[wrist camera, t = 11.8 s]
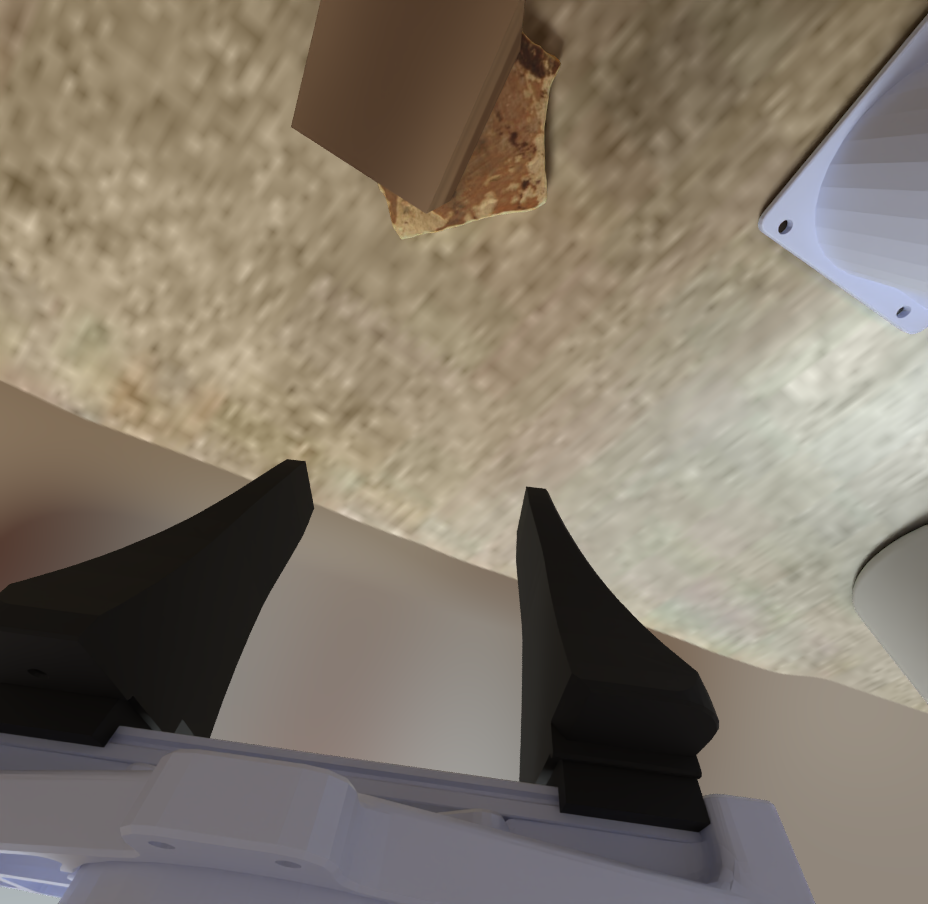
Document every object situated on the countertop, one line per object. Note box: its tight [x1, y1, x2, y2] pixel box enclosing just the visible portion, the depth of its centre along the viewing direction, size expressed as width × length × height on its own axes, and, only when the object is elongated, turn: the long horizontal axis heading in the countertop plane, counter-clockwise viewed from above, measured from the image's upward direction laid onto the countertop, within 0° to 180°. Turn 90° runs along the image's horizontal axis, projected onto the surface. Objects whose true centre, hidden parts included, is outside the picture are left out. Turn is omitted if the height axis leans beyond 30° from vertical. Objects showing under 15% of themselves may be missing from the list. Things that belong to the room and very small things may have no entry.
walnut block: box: [291, 0, 525, 214], centre depth 12 cm, size 4×5×6 cm
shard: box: [378, 32, 561, 240], centre depth 15 cm, size 11×8×2 cm
